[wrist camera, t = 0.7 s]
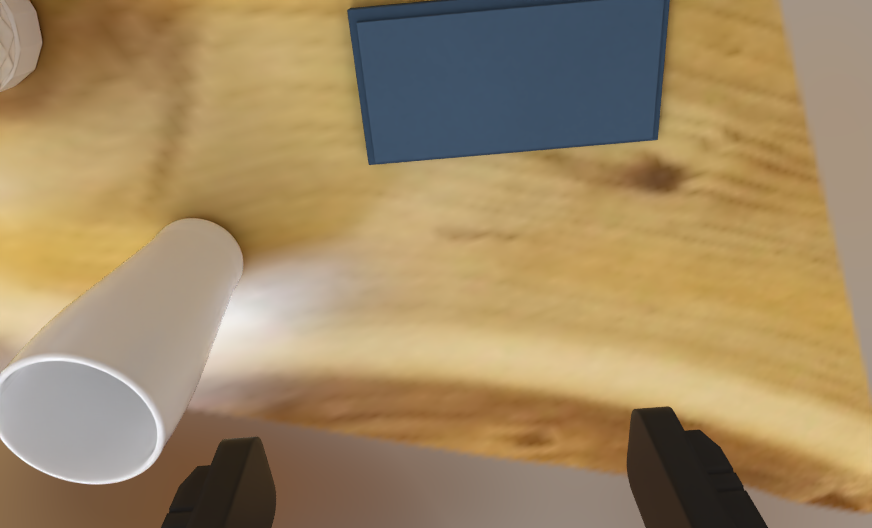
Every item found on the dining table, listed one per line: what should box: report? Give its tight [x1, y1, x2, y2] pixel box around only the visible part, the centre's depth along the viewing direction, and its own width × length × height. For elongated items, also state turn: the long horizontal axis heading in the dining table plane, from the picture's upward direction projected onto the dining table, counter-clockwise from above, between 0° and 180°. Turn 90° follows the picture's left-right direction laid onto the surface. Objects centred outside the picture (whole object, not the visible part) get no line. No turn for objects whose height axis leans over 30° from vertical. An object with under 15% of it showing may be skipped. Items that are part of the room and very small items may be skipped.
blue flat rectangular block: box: [347, 0, 670, 165], centre depth 32 cm, size 8×16×1 cm, turn 95°
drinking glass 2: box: [0, 218, 243, 484], centre depth 30 cm, size 7×7×15 cm
